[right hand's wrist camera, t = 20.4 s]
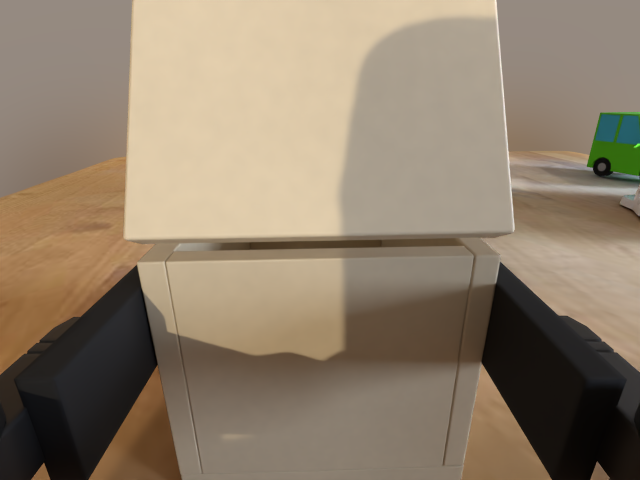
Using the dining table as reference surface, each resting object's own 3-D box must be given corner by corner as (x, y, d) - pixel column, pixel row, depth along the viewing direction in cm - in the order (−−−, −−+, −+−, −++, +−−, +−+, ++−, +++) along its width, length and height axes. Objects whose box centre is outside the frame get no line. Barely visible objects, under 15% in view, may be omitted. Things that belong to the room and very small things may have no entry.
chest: (244, 296, 26) (232, 168, 23) (387, 293, 26) (395, 165, 23) (182, 490, 13) (135, 262, 10) (461, 481, 13) (502, 255, 10)
